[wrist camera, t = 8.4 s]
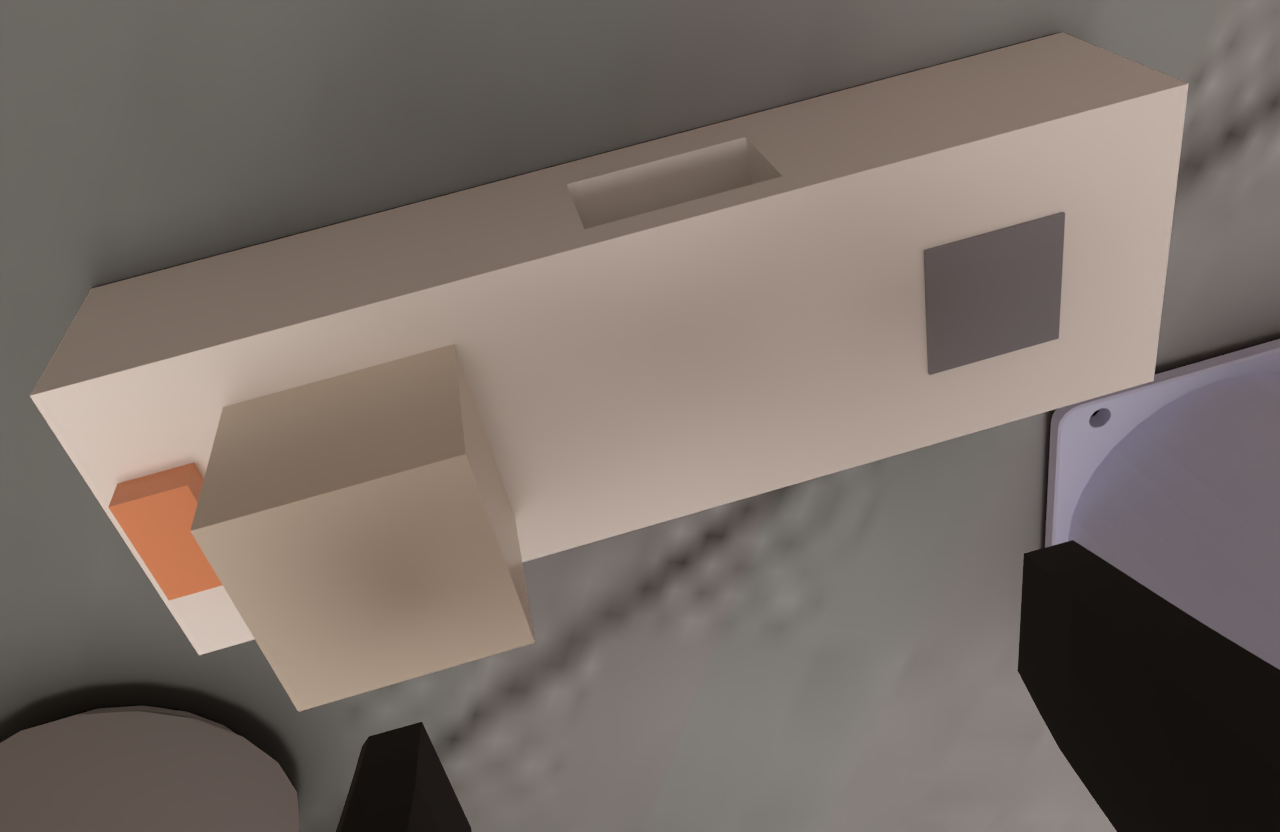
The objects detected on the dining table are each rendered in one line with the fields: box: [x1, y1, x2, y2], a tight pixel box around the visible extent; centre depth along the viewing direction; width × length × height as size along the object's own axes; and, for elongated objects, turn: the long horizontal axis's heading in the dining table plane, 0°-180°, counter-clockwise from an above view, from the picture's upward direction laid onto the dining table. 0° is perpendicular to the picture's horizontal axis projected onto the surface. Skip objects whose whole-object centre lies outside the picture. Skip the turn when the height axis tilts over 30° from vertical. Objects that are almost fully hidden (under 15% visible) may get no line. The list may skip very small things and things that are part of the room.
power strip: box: [30, 32, 1188, 655], centre depth 18 cm, size 18×6×4 cm, turn 101°
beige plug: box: [190, 344, 535, 712], centre depth 15 cm, size 4×4×3 cm
